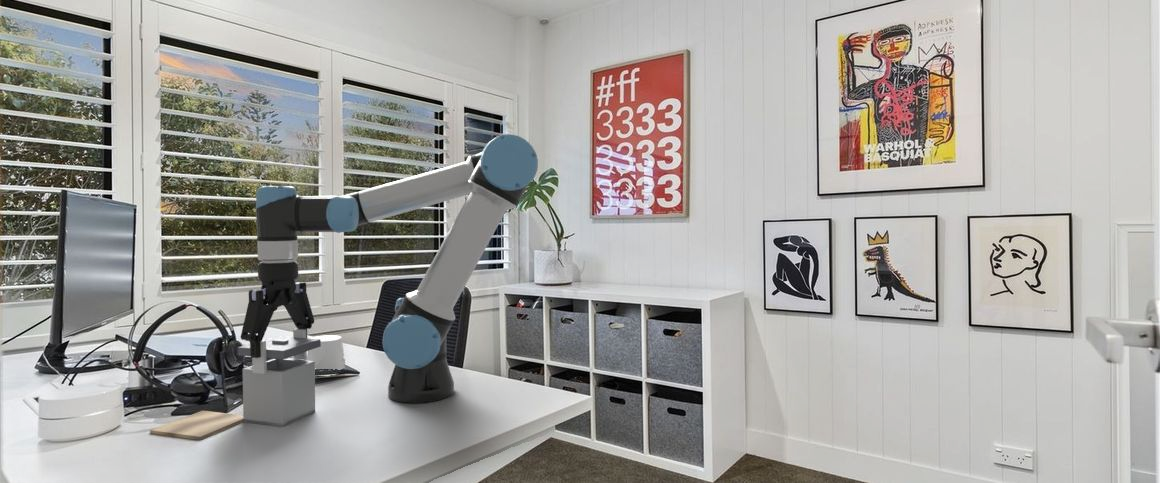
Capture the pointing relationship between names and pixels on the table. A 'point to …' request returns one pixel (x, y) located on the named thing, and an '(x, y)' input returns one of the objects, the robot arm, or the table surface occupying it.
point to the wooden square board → (199, 425)
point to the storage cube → (279, 392)
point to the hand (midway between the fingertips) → (280, 365)
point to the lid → (284, 347)
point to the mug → (328, 353)
